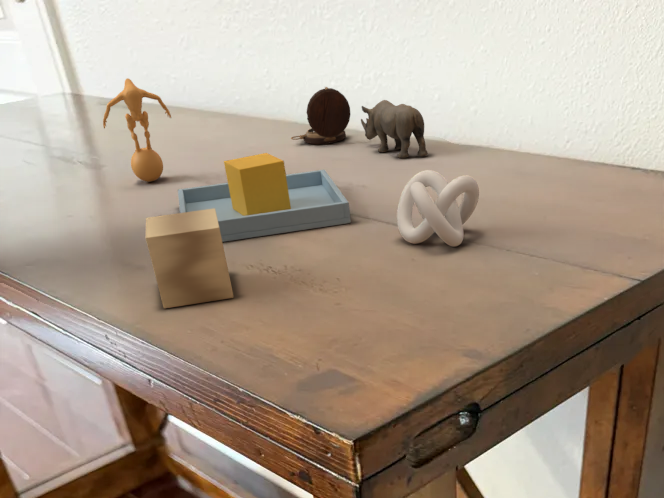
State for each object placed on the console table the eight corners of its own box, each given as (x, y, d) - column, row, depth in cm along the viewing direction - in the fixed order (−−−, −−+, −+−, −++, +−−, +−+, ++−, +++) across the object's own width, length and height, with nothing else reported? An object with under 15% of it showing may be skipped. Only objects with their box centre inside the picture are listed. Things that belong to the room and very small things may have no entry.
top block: (248, 219, 87) (239, 169, 84) (232, 209, 90) (223, 161, 87) (291, 209, 89) (283, 160, 86) (274, 200, 92) (266, 152, 89)
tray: (186, 247, 83) (181, 226, 81) (181, 208, 94) (177, 189, 93) (351, 223, 85) (348, 202, 84) (326, 188, 97) (324, 169, 96)
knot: (456, 221, 83) (454, 160, 80) (498, 241, 77) (498, 176, 74) (390, 236, 81) (385, 174, 77) (429, 258, 75) (425, 191, 71)
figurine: (179, 172, 108) (156, 70, 101) (188, 182, 104) (165, 75, 97) (116, 183, 106) (88, 79, 99) (123, 193, 102) (94, 85, 94)
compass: (339, 133, 121) (332, 78, 117) (354, 143, 115) (348, 85, 111) (287, 141, 119) (278, 85, 115) (300, 151, 113) (291, 93, 109)
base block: (163, 308, 70) (145, 237, 66) (163, 285, 74) (145, 217, 71) (233, 297, 70) (219, 227, 67) (228, 275, 75) (215, 208, 71)
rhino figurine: (377, 140, 115) (373, 93, 112) (434, 155, 106) (431, 103, 103) (352, 146, 114) (347, 98, 110) (408, 161, 104) (405, 109, 101)
